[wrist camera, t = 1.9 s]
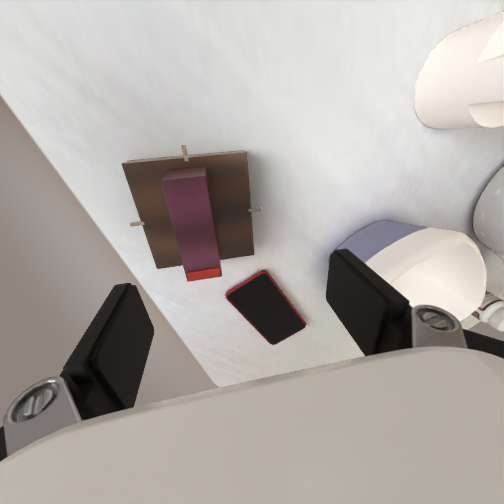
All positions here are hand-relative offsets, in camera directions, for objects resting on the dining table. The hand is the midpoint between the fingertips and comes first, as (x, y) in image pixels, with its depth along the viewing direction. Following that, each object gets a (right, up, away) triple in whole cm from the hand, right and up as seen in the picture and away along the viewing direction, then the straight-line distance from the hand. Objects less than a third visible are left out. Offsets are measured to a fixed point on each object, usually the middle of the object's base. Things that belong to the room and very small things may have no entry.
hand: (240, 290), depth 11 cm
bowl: (+18, +1, +24) cm, 30 cm away
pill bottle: (+41, -5, +32) cm, 52 cm away
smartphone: (+3, -7, +26) cm, 27 cm away
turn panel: (-6, +7, +16) cm, 18 cm away
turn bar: (-5, +6, +14) cm, 16 cm away
